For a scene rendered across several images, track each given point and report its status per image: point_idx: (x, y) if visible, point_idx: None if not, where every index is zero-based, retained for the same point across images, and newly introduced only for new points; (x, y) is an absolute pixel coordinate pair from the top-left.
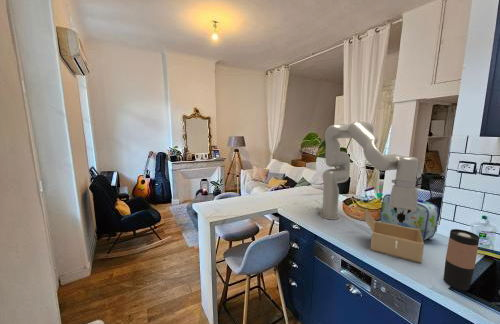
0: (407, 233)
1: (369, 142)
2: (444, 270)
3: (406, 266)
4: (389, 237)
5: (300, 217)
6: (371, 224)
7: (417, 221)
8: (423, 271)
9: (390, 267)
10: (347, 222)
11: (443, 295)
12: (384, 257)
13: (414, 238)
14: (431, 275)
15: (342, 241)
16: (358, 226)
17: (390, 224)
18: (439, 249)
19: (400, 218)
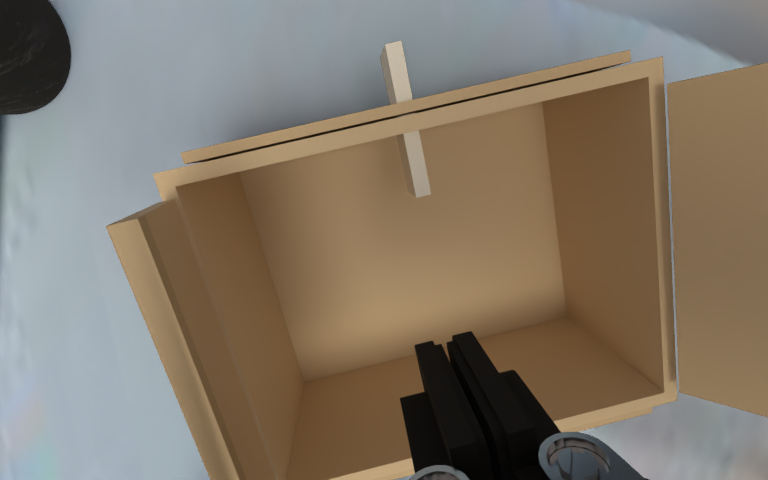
0: (363, 426)
1: None
2: (9, 8)
3: (293, 32)
4: (479, 85)
5: None
6: (730, 173)
7: (199, 446)
8: (191, 50)
9: None
10: (757, 414)
11: None
12: (441, 50)
13: (311, 417)
14: (139, 33)
15: (745, 66)
16: (678, 407)
17: None
18: (184, 459)
19: (474, 372)
